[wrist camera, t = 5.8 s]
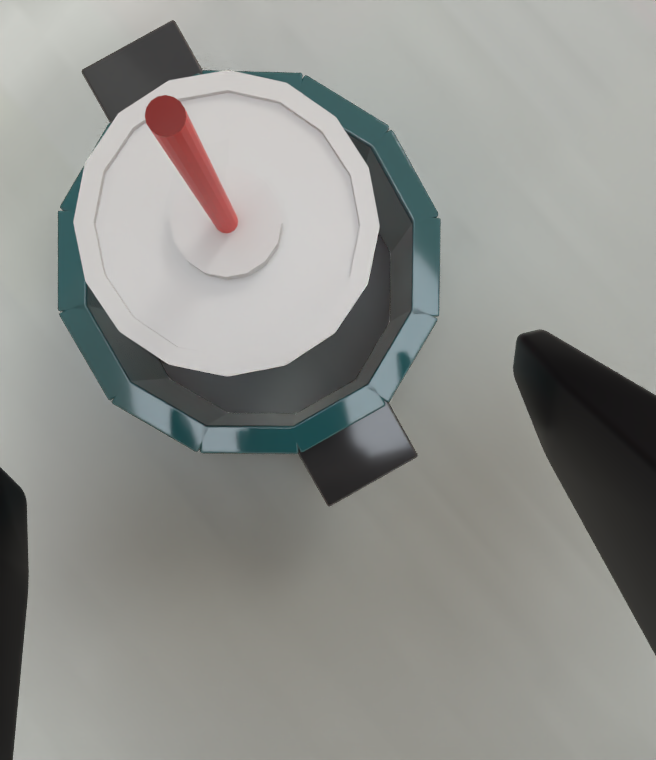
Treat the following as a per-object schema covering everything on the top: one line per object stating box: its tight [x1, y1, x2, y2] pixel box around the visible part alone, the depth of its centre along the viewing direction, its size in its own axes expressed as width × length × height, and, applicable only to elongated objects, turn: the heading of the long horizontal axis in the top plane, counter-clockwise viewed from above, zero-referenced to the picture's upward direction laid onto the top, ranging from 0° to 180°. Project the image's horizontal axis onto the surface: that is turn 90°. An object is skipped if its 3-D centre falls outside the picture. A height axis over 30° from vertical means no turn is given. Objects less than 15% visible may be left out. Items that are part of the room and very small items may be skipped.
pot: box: [58, 20, 441, 506], centre depth 18 cm, size 11×14×4 cm
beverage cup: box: [73, 70, 380, 377], centre depth 14 cm, size 6×6×14 cm
